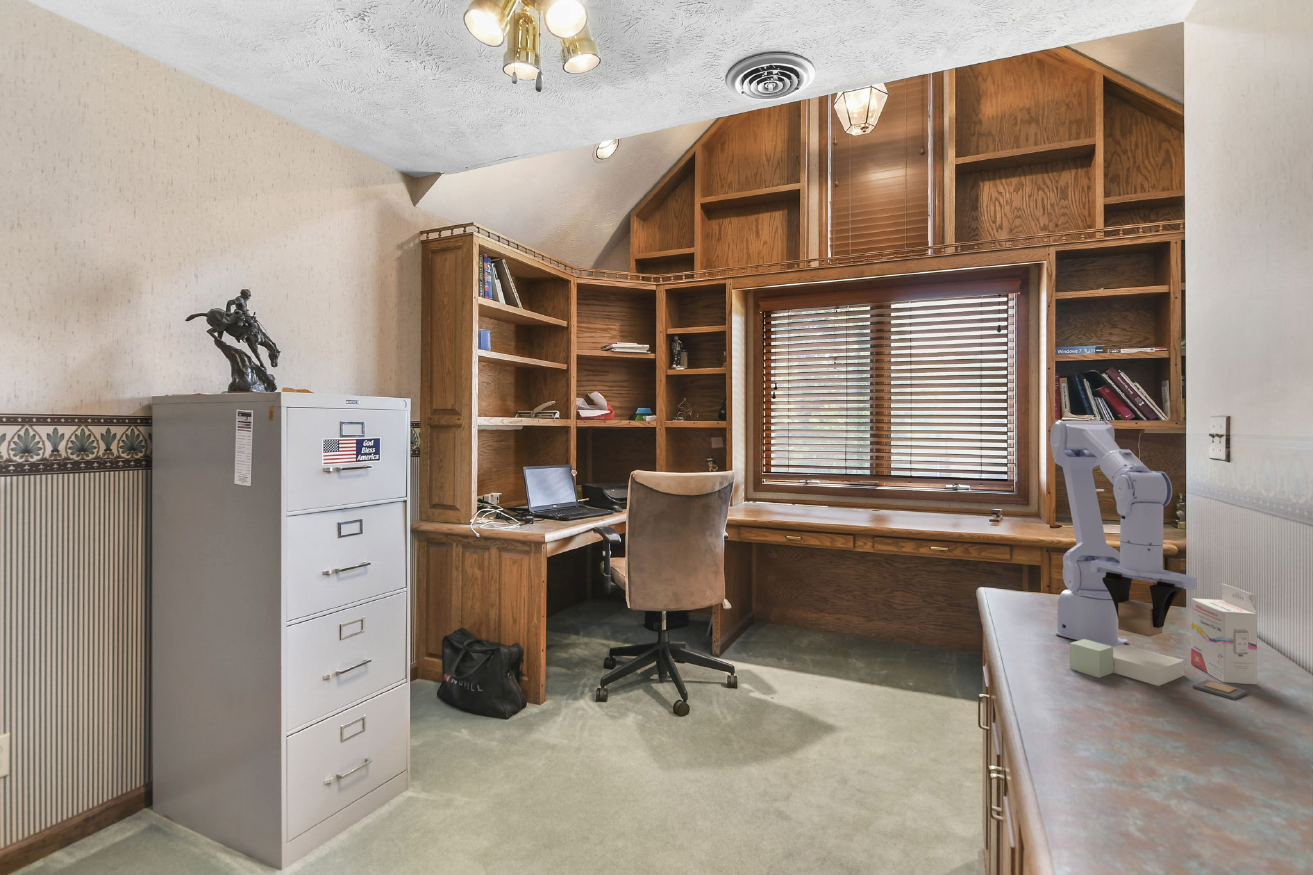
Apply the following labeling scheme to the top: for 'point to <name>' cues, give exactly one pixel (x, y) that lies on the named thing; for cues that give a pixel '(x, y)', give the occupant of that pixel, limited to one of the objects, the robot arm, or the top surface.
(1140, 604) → the walnut block
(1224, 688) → the tile
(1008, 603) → the top surface
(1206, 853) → the top surface
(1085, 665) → the sage block
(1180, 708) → the top surface
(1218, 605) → the ink cartridge box
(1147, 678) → the base block
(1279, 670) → the top surface
